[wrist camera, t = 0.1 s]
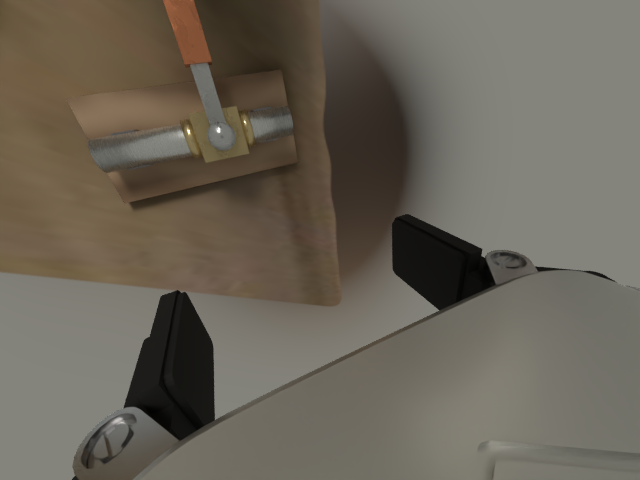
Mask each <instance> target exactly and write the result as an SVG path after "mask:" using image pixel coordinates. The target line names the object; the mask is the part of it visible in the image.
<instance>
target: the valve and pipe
mask: <svg viewBox="0 0 640 480" xmlns="http://www.w3.org/2000/svg"><path fill="white" fill-rule="evenodd" d="M222 112H223V115H224V118H225V122H226V124H228V125H230V126H231V127H232V129H233V130H234V132H235V135H236V141H235V144H234V146H233V147H232V148H231V149H229V150H225V151H222V150H218V149H216V148H214V147H213V146H212V145H211V144H210V142H209V140H208V136H207V132H208V128H209V127H210V124H209V121H208V118H207V115H206V112H205V111H203V112H197V113H191V114H188V116H189V119H183V120H180V124H177V125H171V126H166V127H160V128H154V129H148V130H142V131H139V130H138V129H137V130H130V131H124V132H118V133H112V134H110V135H111V136H107V137H101V138H95V139H90V140H89V141H88V147H89V150H90V153H91V155H92V157H93V159H94V161H95V162H96V164H97V165H98V166H99V167H100V168H101V169H102V170H103V171H104V172H106V173H111V172H116V171H121V170H125V169H128V170H132V169H137V168H142V167H147V166H151V165H152V164H155V163H160V162H164V161H169V160H174V159H179V158H184V157H189V156H193V158H194V159H197V158H201V157H204V160H205V162H206V163H208V162H212V161H217V160H222V159H226V158H231V157H236V156H240V155H245V154H250V153H249V150H248V148H249V147H254V146H256V143H257V142H261V143H263V142H268V141H273V140H277V139H278V138H282V137H286V136H291V135H293V121H292V116H291V113H290V110H289V108H288V107H287V106H282V107H277V108H272V107H266V108H260V109H254V110H251V112H247V110H246V109H243V110H237V106H234V107H228V108H222Z"/></svg>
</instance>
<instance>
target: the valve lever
mask: <svg viewBox="0 0 640 480" xmlns="http://www.w3.org/2000/svg"><path fill="white" fill-rule="evenodd" d="M163 2H164V5H165V8H166V11H167V13H168V16H169V19H170V22H171V25H172V28H173V31H174V34H175V37H176V40H177V43H178V46H179V49H180V52H181V55H182V58H183V61H184V63H185V66H186V68H187V67H191V70H192V73H193V76H194V79H195V82H196V85H197V88H198V91H199V94H200V97H201V100H202V103H203V106H204V109H205V112H206V115H207V118H208V121H209V124H210V127H209V128H208V132H207V136H208V140H209V142H210V144H211V145H212V146H213V147H214V148H216V149H218V150H222V151H225V150H229V149H231V148H232V147H233V146H234V144H235V141H236V135H235V132H234V130H233V129H232V127H231V126H230V125H228V124H226V122H225V118H224V115H223V112H222V108H221V105H220V102H219V99H218V95H217V92H216V89H215V85H214V82H213V79H212V75H211V72H210V69H209V66H208V65H212V60H211V56H210V53H209V50H208V46H207V43H206V39H205V36H204V33H203V29H202V26H201V22H200V19H199V16H198V12H197V9H196V6H195V2H194V0H163Z"/></svg>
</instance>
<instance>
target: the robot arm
mask: <svg viewBox="0 0 640 480" xmlns="http://www.w3.org/2000/svg"><path fill="white" fill-rule="evenodd" d="M392 250H393V251H392V255H393V271H394V272H395V274H396V275H397V276H398V277H400V278H401V279H402V280H403V281H405V282H406V283H407V284H408V285H409V286H411V287H412V288H413V289H414V290H415V291H417V292H418V293H419V294H420V295H421V296H423V297H424V298H425V299H426V300H428V301H429V302H430V303H431V304H432V305H434V306H435V307H436V308H437V309H438V310H440V311H438V312H436V313H434V314H431V315H429V316H427V317H425V318H423V319H421V320H419V321H417V322H414V323H412V324H410V325H408V326H406V327H404V328H402V329H400V330H397V331H395V332H394V333H391V334H389V335H387V336H385V337H383V338H381V339H379V340H376V341H374V342H372V343H370V344H368V345H366V346H364V347H362V348H360V349H358V350H355V351H354V352H351V353H349V354H347V355H345V356H343V357H341V358H339V359H337V360H335V361H333V362H330V363H328V364H326V365H324V366H322V367H320V368H318V369H316V370H314V371H312V372H310V373H308V374H306V375H304V376H301V377H299V378H297V379H295V380H293V381H291V382H289V383H287V384H285V385H283V386H281V387H279V388H277V389H275V390H273V391H271V392H269V393H267V394H265V395H263V396H261V397H259V398H257V399H255V400H253V401H251V402H249V403H247V404H245V405H243V406H241V407H239V408H237V409H235V410H233V411H231V412H229V413H227V414H225V415H224V416H222V417H220V418H218V419H216V420H215V413H214V362H213V361H214V360H213V344H212V341H211V338H210V336H209V334H208V333H207V331H206V329H205V327H204V325H203V323H202V321H201V319H200V317H199V316H198V314H197V312H196V310H195V308H194V306H193V304H192V303H191V300H190V299H189V297H188V295H187V293H186V292H183V293H181V292H180V291H178V290H177V291H174V292H171V293H168V294H165V295H162V296H161V298H160V301H159V305H158V308H157V313H156V316H155V319H154V323H153V326H152V330H151V334H150V337H148V338H146V339H145V340H144V342H143V345H142V348H141V351H140V355H139V358H138V361H137V365H136V368H135V371H134V375H133V378H132V381H131V385H130V388H129V392H128V395H127V398H126V402H125V405H124V408H123V409H121V410H118V411H116V412H114V413H112V414H111V415H109V416H107V417H106V418H105V419H104V420H102V421H101V422H100V423H99V424H97V425H96V426H95V427H94V428H93V429H92V431H91V432H90V433H89V434H88V435H87V436H86V437H85V439H84V440H83V442H82V443H81V445H80V446H79V448H78V450H77V452H76V455H75V457H74V461H73V470H74V473H75V475H76V476H75V477H74V478H73V479H72V480H640V289H639V288H635V287H630V286H624V285H621V284H618V283H617V282H615V281H614V280H612V279H610V278H608V277H607V276H605V275H603V274H600V273H597V272H593V271H579V270H568V269H557V268H546V267H535V266H534V265H533V263H532V262H531V260H530V259H529V258H527V257H526V256H524V255H522V254H519V253H517V252H513V251H508V250H495V251H491V252H489V253H487V255H486V256H485V258H484V257H482V256H481V254H482V249H481V248H479V247H477V246H475V245H473V244H470V243H468V242H466V241H464V240H462V239H460V238H458V237H455V236H453V235H451V234H449V233H447V232H445V231H443V230H441V229H439V228H436V227H434V226H432V225H430V224H428V223H426V222H424V221H422V220H419V219H417V218H415V217H413V216H411V215H409V214H405V215H402V216H399V217H397V218H395V220H394V222H393V223H392Z"/></svg>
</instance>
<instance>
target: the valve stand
mask: <svg viewBox="0 0 640 480" xmlns="http://www.w3.org/2000/svg"><path fill="white" fill-rule="evenodd" d="M213 82H214V85H215V89H216V92H217V95H218V99H219V102H220V105H221V108H228V107H234V106H237V110H243V109H246V110H247V112H251V110H254V109H260V108H266V107H272V108H277V107H282V106H287V107H288V102H287V97H286V92H285V86H284V81H283V76H282V70H275V71H267V72H260V73H252V74H244V75H237V76H229V77H221V78H214V79H213ZM65 99H66V100H67V102H68V104H69V106H70V107H71V109H72V111H73V113H74V115H75V116H76V118H77V120H78V122H79V123H80V125H81V127H82V129H83V131H84V132H85V134H86V136H87V138H88V139H89V140H90V139H95V138H101V137H107V136H111V135H110V134H112V133H118V132H124V131H130V130H137V129H138V130H139V131H142V130H148V129H154V128H160V127H166V126H171V125H177V124H180V120H183V119H189V116H188V114H191V113H197V112H203V111H205V109H204V106H203V103H202V100H201V97H200V94H199V91H198V88H197V85H196V82H195V81H191V82H183V83H175V84H168V85H160V86H152V87H145V88H137V89H129V90H122V91H114V92H106V93H99V94H91V95H83V96H76V97H68V98H65ZM248 150H249V153H250V154H245V155H240V156H236V157H231V158H226V159H222V160H217V161H212V162H208V163H206V162H205V160H204V157H201V158H197V159H194V158H193V156H189V157H184V158H179V159H174V160H169V161H164V162H160V163H155V164H152V165H151V166H147V167H142V168H137V169H132V170H128V169H125V170H121V171H116V172H111V173H108V175H109V177H110V179H111V180H112V182H113V184H114V186H115V187H116V189H117V191H118V193H119V195H120V196H121V198H122V200H123V202H124V203H129V202H133V201H137V200H141V199H146V198H150V197H154V196H158V195H162V194H167V193H171V192H175V191H179V190H184V189H188V188H192V187H196V186H201V185H205V184H209V183H213V182H217V181H222V180H226V179H230V178H234V177H239V176H243V175H247V174H251V173H255V172H260V171H264V170H268V169H272V168H277V167H281V166H285V165H289V164H294V163H298V162H299V161H298V156H297V150H296V145H295V140H294V134H293V135H291V136H286V137H282V138H278V139H277V140H273V141H268V142H263V143H261V142H257V143H256V146H254V147H249V148H248Z"/></svg>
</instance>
